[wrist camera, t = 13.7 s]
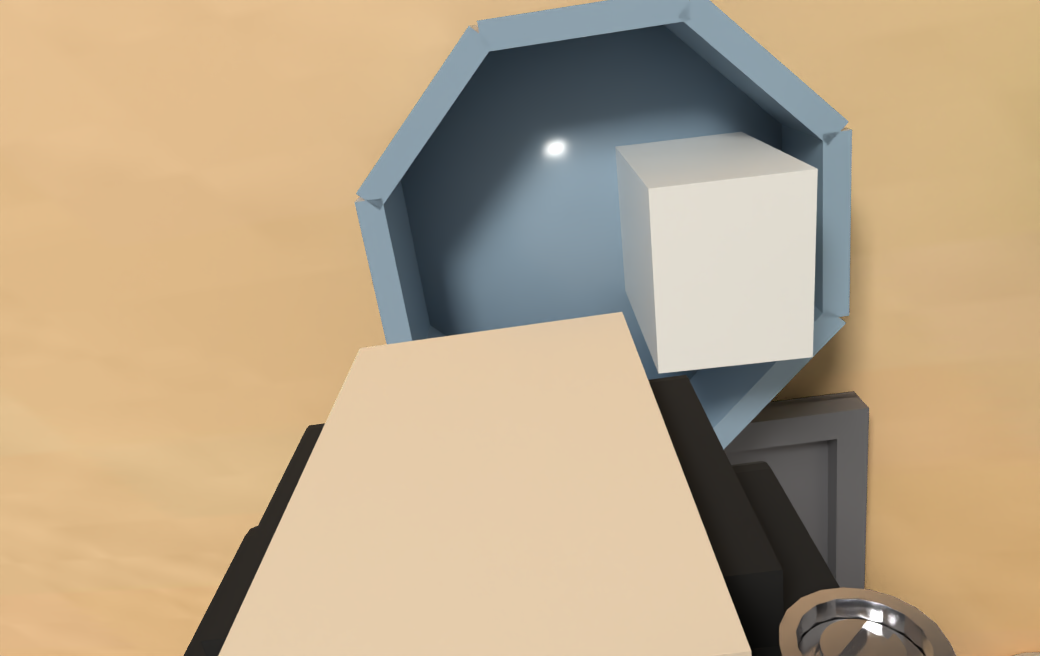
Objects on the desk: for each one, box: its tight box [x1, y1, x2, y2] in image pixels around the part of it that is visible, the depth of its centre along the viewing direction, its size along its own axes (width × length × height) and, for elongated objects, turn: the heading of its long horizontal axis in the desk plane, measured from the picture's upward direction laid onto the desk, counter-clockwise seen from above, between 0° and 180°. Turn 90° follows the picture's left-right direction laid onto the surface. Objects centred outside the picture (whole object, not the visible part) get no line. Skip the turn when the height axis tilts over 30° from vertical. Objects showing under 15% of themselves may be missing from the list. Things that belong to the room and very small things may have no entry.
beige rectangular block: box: [218, 312, 752, 656], centre depth 8 cm, size 4×4×6 cm
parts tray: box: [724, 391, 869, 589], centre depth 28 cm, size 16×14×1 cm
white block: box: [615, 132, 818, 373], centre depth 20 cm, size 4×4×6 cm
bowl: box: [355, 0, 852, 449], centre depth 22 cm, size 12×12×4 cm
